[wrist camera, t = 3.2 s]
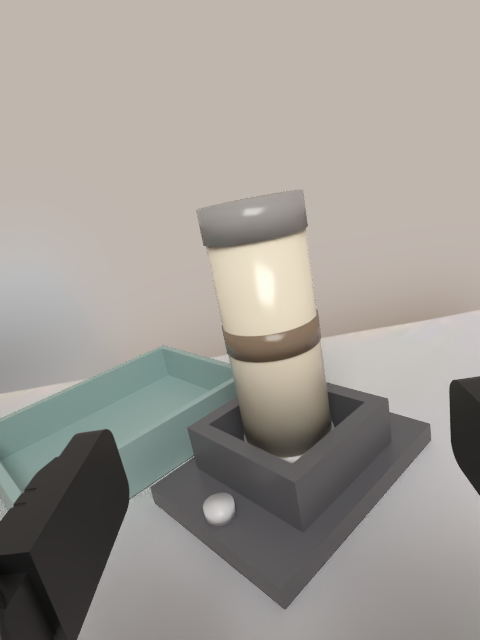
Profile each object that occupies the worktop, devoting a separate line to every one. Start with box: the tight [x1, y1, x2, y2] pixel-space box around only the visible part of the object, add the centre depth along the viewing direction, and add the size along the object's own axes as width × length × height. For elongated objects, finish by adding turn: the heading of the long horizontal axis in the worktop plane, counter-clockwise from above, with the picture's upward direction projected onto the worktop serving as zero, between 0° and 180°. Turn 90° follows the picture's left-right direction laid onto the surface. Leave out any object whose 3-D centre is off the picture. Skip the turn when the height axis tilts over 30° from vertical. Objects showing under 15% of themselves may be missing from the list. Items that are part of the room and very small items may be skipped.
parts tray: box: [0, 345, 237, 510], centre depth 28 cm, size 15×11×3 cm
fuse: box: [196, 190, 334, 464], centre depth 20 cm, size 5×5×13 cm
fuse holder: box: [150, 382, 431, 609], centre depth 22 cm, size 12×9×4 cm
